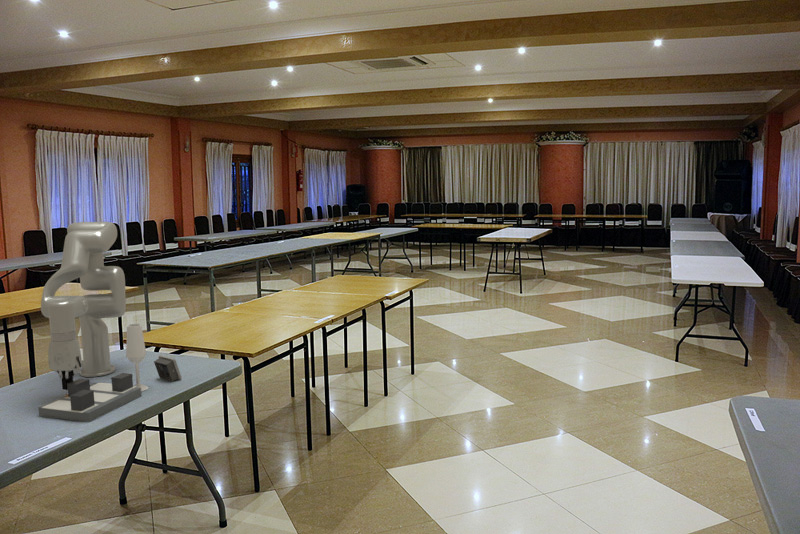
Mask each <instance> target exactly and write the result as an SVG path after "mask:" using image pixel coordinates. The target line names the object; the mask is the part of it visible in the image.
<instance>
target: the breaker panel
mask: <svg viewBox="0 0 800 534" xmlns="http://www.w3.org/2000/svg"><path fill="white" fill-rule="evenodd" d="M110 379H111V383H108V382H98V383H97V382H93V383H91V384H90V390H82V391H79V392H77V393H75V394H72V395H70V397H69V396H68V393H67V394H65V395H63V396H61V397H58V398H55V399H53V400H51V401H48V402H46V403H44V404H42V405H39V406H38V408H37V410H38V416H40V417H46V418H55V419H61V420H69V419H71V420H72V421H77V420H79V422H85V421H87V423H91V422H93V421H94V419H95V420H97V419H99V418H100V417H102V416H105V415H106V414H109V413H110V412H112V411H115V410H117V409H118V408H120V407H122V406H124V405H127V404H128V403H130V402H132V401H134V400H137V399H139V398H140V397H142V391H141V388H137V386H134V382H133V381H134V380H133V373H129V372H128V373H127V372H122V373H119V374H116V375H114V376H112V377H111V378H110ZM98 417H99V418H98ZM96 418H97V419H96ZM92 420H93V421H92ZM90 421H91V422H90Z"/></svg>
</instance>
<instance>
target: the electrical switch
mask: <svg viewBox="0 0 800 534" xmlns="http://www.w3.org/2000/svg"><path fill="white" fill-rule="evenodd" d="M153 363H154V365H155V369H156V372H157V374H158V377H159V379H161V380H164V381H168V382H171V383H174V381H177V380H179V381H180V380H181V379H182V375H181V372H180V369H179V367H178V363H177V360H176V359H175V357H171V356H166V355H162V354H159V355H158V358H157V359H155V360H154V361H153Z"/></svg>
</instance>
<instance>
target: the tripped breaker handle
mask: <svg viewBox="0 0 800 534" xmlns="http://www.w3.org/2000/svg"><path fill="white" fill-rule="evenodd" d="M90 385H91V384H90V379H87V378H78V379H75V380H73V381H72V382H70V383H67V389H68V390H67V394H68V396H69V397H70V395H72V394H75V393H77V392H79V391H82V390H90Z"/></svg>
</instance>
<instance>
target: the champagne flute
mask: <svg viewBox="0 0 800 534" xmlns="http://www.w3.org/2000/svg"><path fill="white" fill-rule="evenodd" d="M143 332H144V331H143V327H142V324H141V323H130V324H128V325H126V345H125V346H126V349H125V351H126V352H125V356H126V359H127V360H128V361H130V362H131V363H133V364H134V365H135V367H134V368H135V378H136V379H135V381H136V383H135V385H134V384H133V386H137V388H141V392H143V391H147V390H148V389H149V386H147V385H145V384H142V383H141V381H140V380H141V379H140V378H141V377H140V364H139V363H141V362H142V361H143V360H144V359H145V357H146V355H147V349H146V345H145V344H146V343H145V339H144V338H145V337H144V333H143Z"/></svg>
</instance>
